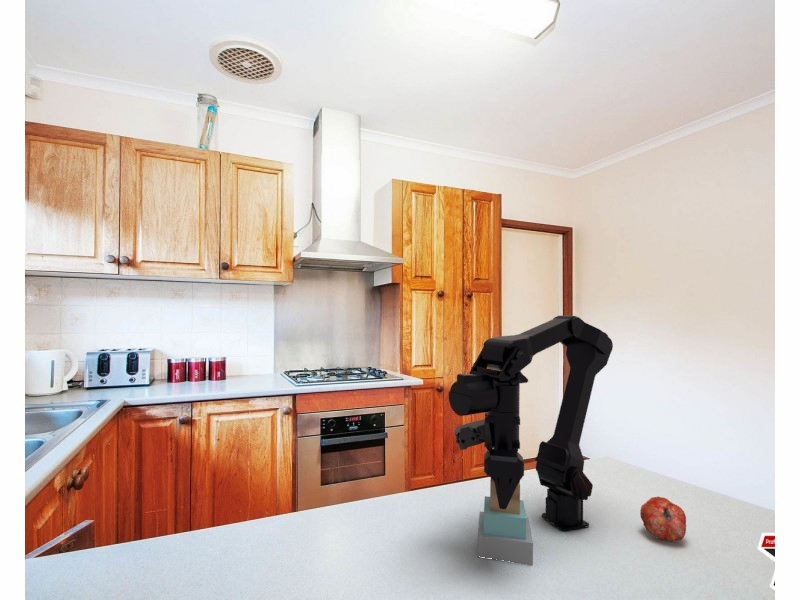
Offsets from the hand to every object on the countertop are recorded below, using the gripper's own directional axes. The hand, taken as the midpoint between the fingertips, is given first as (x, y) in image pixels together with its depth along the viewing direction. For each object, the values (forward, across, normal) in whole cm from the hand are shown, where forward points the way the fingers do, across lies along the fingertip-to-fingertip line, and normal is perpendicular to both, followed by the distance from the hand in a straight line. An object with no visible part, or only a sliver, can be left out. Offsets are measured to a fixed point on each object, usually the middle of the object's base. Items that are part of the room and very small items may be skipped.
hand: (502, 496), depth 75 cm
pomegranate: (+9, -11, +30) cm, 33 cm away
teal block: (+5, 0, 0) cm, 5 cm away
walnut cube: (+2, 0, 0) cm, 2 cm away
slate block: (+9, 0, 0) cm, 9 cm away
